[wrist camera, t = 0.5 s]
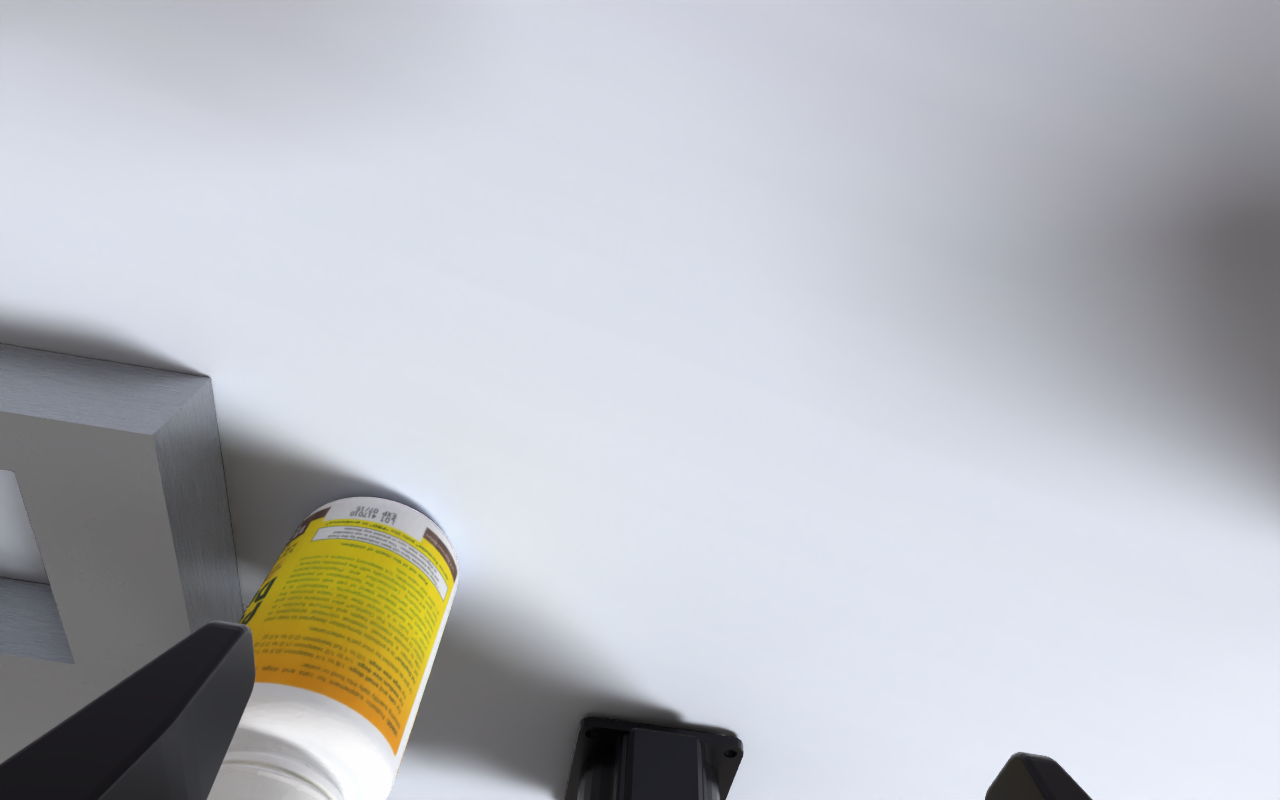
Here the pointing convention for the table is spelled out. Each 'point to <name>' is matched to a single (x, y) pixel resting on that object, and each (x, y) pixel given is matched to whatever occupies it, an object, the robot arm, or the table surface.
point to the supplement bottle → (341, 654)
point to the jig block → (107, 529)
